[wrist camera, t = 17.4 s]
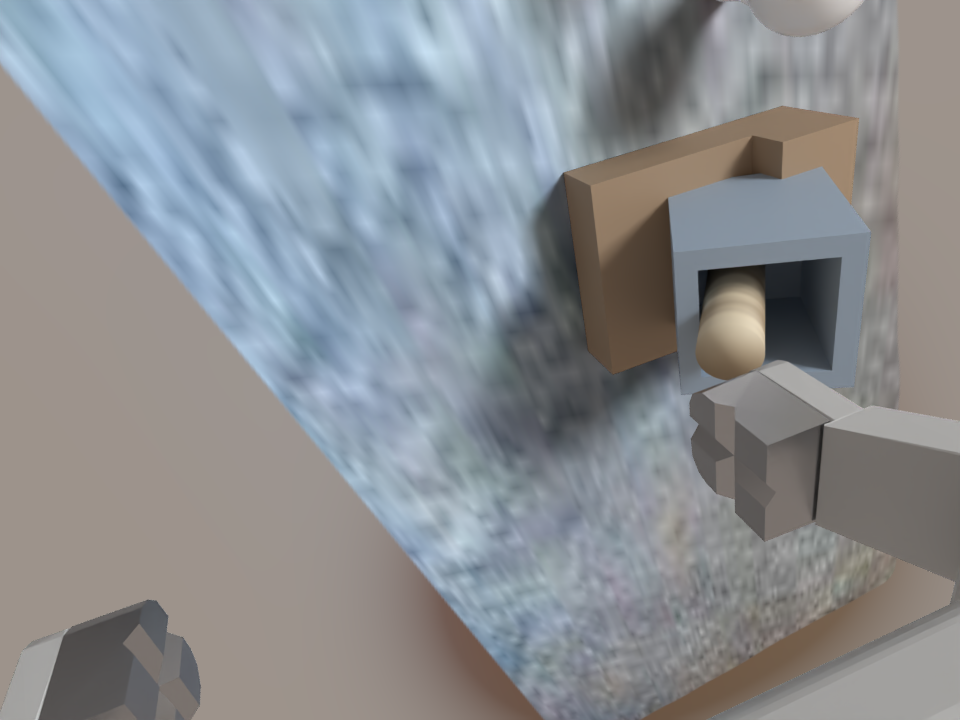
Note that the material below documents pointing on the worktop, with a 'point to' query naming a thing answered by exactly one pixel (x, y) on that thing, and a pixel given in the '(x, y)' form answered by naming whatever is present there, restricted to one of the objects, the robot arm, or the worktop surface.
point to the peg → (732, 322)
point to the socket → (725, 242)
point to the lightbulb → (801, 14)
